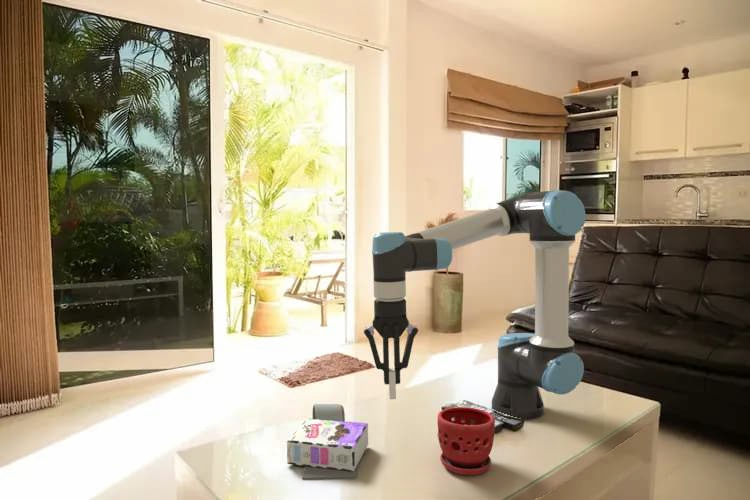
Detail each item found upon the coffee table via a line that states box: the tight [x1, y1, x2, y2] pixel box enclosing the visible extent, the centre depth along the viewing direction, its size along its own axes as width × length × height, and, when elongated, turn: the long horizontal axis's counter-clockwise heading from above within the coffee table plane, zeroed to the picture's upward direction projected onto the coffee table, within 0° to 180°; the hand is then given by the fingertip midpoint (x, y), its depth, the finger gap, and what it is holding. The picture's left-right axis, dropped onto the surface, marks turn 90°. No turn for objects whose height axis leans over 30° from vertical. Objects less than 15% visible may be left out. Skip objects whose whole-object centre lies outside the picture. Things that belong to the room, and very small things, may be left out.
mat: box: [301, 466, 358, 480], centre depth 119 cm, size 12×16×1 cm
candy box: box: [286, 418, 369, 471], centre depth 121 cm, size 14×6×16 cm
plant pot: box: [437, 406, 496, 476], centre depth 117 cm, size 13×13×12 cm
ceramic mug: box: [311, 403, 346, 422], centre depth 137 cm, size 11×8×8 cm
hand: (392, 397), depth 119 cm, fingers closed
